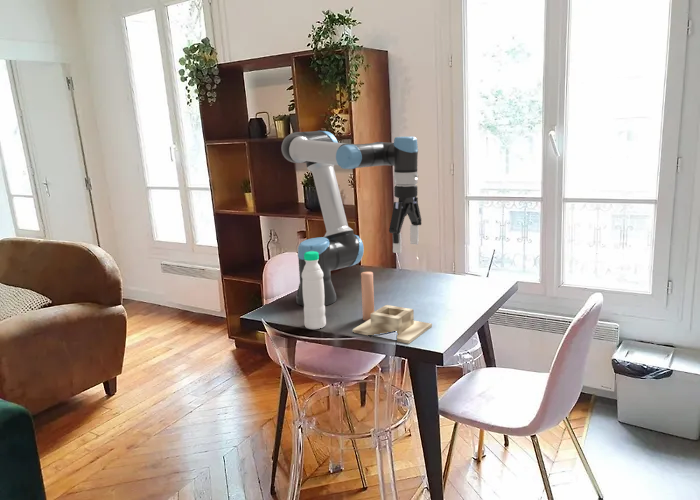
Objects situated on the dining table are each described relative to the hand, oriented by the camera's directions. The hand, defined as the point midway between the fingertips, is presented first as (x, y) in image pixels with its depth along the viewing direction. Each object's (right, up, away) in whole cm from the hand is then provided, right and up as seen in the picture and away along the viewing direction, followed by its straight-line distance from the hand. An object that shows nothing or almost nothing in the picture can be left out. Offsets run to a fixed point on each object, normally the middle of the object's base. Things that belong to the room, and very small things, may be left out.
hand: (406, 248), depth 183 cm
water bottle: (-30, -26, -3) cm, 40 cm away
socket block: (-5, -26, -9) cm, 28 cm away
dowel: (-12, -24, +2) cm, 27 cm away
